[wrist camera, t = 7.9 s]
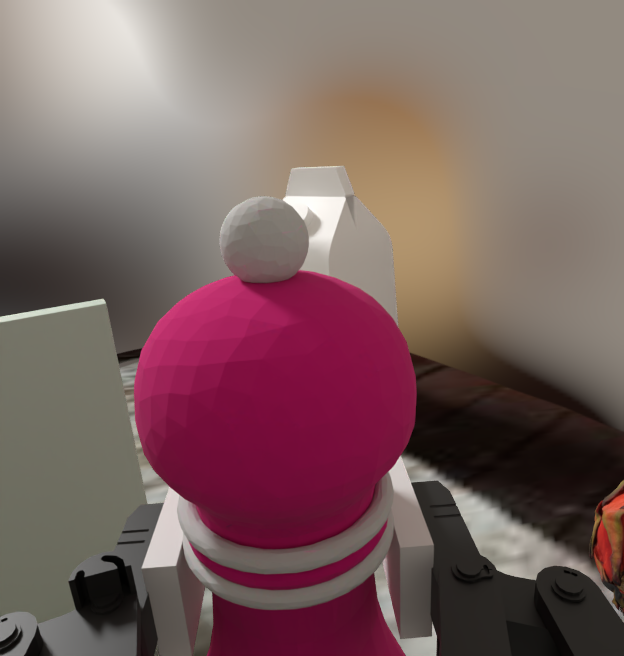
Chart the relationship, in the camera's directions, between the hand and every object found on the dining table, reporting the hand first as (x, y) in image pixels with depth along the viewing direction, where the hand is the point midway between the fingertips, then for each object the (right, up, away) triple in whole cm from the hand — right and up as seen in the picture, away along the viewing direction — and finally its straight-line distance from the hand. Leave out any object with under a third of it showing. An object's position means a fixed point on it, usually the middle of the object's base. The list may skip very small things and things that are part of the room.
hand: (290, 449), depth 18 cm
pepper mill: (+1, -12, -1) cm, 12 cm away
